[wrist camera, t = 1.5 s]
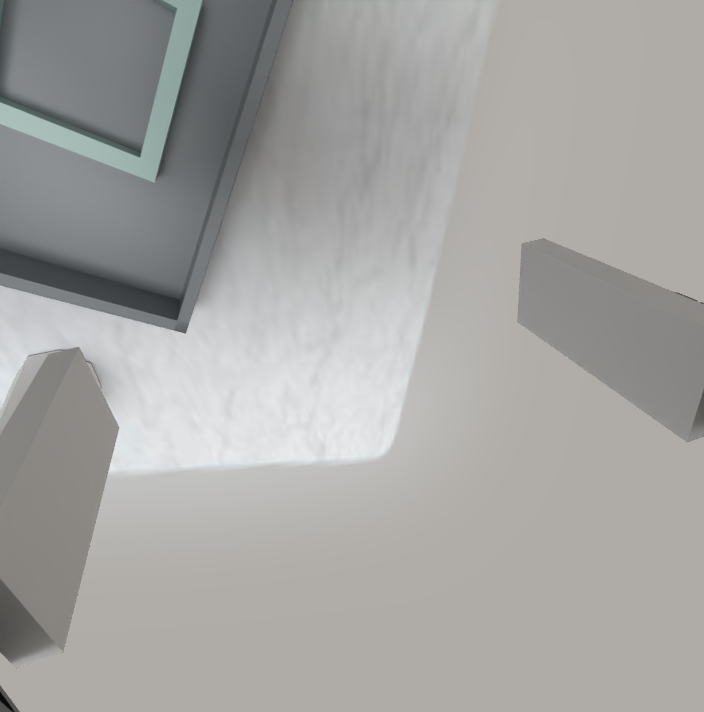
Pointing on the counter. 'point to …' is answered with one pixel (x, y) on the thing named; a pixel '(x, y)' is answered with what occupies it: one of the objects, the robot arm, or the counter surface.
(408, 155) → the counter surface
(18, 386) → the salt shaker
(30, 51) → the bin
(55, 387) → the robot arm
